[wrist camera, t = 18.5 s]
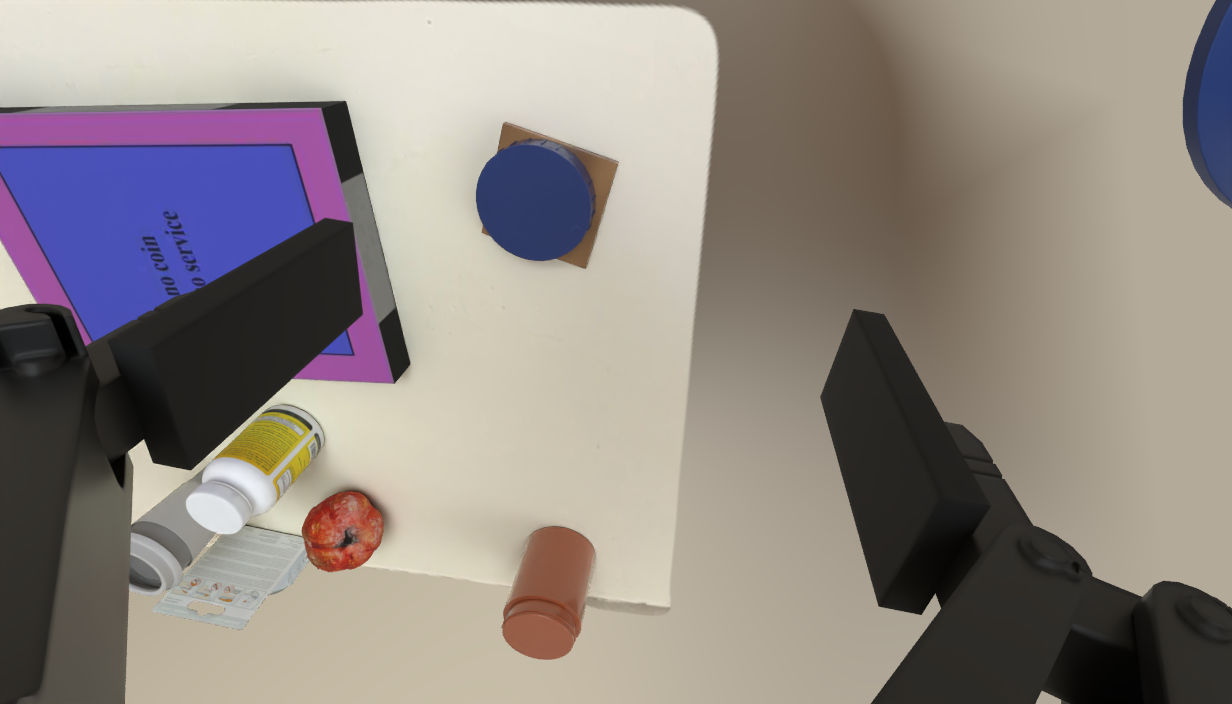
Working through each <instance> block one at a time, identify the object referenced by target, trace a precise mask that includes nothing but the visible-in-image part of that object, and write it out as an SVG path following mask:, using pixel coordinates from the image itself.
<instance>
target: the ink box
mask: <svg viewBox="0 0 1232 704" xmlns="http://www.w3.org/2000/svg"><path fill="white" fill-rule="evenodd" d="M309 561H310V560H309V559H308V557H307V552H306V549H305V544H304V539H303V537H299V536H294V535H289V534H284V533H279V532H274V531H269V530H265V529H260V528H255V527H250V526H245V525H244V526H243V527H242V529H241V530H240V531H238V532H237V533H234V534H223V535H222V536H221V537H220V538H219V539H218V540H217V541H216V542H215V543H214V544H213V545H212V546H211V547H210V549H209V550H208V551H207V552H206V553H205V554H204V555H203V556H202V557H201V558H200V559H199V560H198V561H197V562H196V563H195V564H194V565H193V566H192V567H191V568H190V570H188V572H187V573H186V574H185V575H183V578H182V581H181V582H180V583H179V584H178V585H177V586H175V587H174V588H172V589H170V590H169V591H168V592H167V593H166V595H165V596H164V597H163V598H162V599H161V600H160V601H159V602H158V604H157V605H156V606H155V607H154V608H153V609H152V612H156V613H160V614H164V615H170V616H175V617H180V618H184V619H189V620H194V621H199V622H204V623H208V624H214V625H218V626H223V627H226V628H231V629H237V630H242V629H243V628H244V627H245V625H246V624H247V622H248V621H249V620H250V618H251V617H252V616H253V614H254V613H255V612H256V610H257V609H258V608H259V606H260V605H261V604H262V603H263V601H264V600H265V598H266V597H267V596H268V595H271V594H275V593H279V592H280V591H282V590H284V589H285V588H286V587H288V586H290V585H291V584H293V582H294V581H295V579H296V578H297V577H298V575H299V574H300V572H301V571H302V570H303V568H304V567H305V566H306V565H307V563H308V562H309ZM193 601H197V602H201V603H207V604H211V605H215V606H220V607H224V609H225V611H224V612H223V613H222V614H220V615H215V614H210V613H209V614H207V615H204V616H199V615H198V614H197V611H196V610H192V609H188V604H190V603H191V602H193Z"/></svg>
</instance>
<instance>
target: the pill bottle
mask: <svg viewBox="0 0 1232 704" xmlns="http://www.w3.org/2000/svg"><path fill="white" fill-rule="evenodd" d="M323 444H324V436H323V432H322V430H321V428H320V426H319V424H318V423H317V422H316V421H315V420H314V419H313V418H312V417H311V416H310V415H309V414H308V413H306V412H304V411H302V410H300V409H298V408H295V407H292V406H286V405H278V406H273V407H271V408H269V409H267V410H266V411H264V412H263V413H262V414H261V415H260V416H259V417H258V418H257V419H255V420H254V421H253V422H252V423H251V424H250V425H249V426H248V427H247V428H246V429H245V430H244V431H243V432H242V433H241V434H240V435H239V436H237V437H236V438H235V439H234V440H233V441H232V442H231V443H230V444H229V445H228V446H227V447H226V448H225V449H224V450H223V451H222V452H220V453H219V454H218V455H217V456H216V457H215V458H214V459H213V460H212V461H211V462H210V463H209V464H208V465H207V467H206V468H205V470H204V472H203V475H202V484H201V485H199V486H198V487H197V488H196V489H195V490H194V491H193V492H192V493H191V494H190V495H189V496H188V498H187V499H186V508H187V511H188V512H189V514H190V515H191V517H192V518H193V519H194V520H195V521H196V522H197V523H199V524H200V525H201V526H203V527H204V528H206V529H208V530H210V531H213V532H215V533H219V534H234V533H237V532H238V531H240V530H241V529H242V527H243V526H244V525H245V524H246V523H247V522H248V521H249V519H250V518H251V517H252V516H257V515H261V514H263V513H265V512H267V511H268V510H270V509H271V508H272V507H273V506H274V505H275V503H276V502H277V501H278V500H279V499H280V497H281V496H282V495H283V494H284V493H285V492H286V490H287V489H288V488H289V487H290V486H291V485H292V483H293V482H294V481H295V480H296V479H297V478H298V476H299V475H300V474H301V473H302V472H303V471H304V469H305V468H306V467H307V466H308V465H309V464H310V463H311V461H312V460H313V459H314V458H315V457H316V455H317V454H318V453H319V452H320V450H321V449H322V447H323Z"/></svg>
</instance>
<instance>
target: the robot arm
mask: <svg viewBox="0 0 1232 704" xmlns="http://www.w3.org/2000/svg"><path fill="white" fill-rule="evenodd" d="M362 315H363V308H362V299H361V290H360V281H359V272H358V263H357V253H356V244H355V235H354V226H353V222H348V221H342V220H336V219H330V218H324V219H322V220H320V221H318V222H317V223H315V224H313V225H311V226H310V227H308V228H306V229H304V230H302V231H301V232H299V233H297V234H295V235H294V236H292V237H290V238H288V239H286V240H285V241H283V242H281V243H279V244H278V245H276V246H274V247H272V248H271V249H269V250H267V251H265V252H263V253H262V254H260V255H258V256H256V257H255V258H253V259H251V260H249V261H247V262H246V263H244V264H242V265H240V266H239V267H237V268H235V269H233V270H232V271H230V272H228V273H226V274H224V275H223V276H221V277H219V278H217V279H216V280H214V281H212V282H210V283H208V284H207V285H205V286H203V287H201V288H200V289H198V290H195V291H192V292H188V293H185V294H182V295H179V296H176V297H173V298H171V299H170V300H168V301H166V302H164V303H162V304H161V305H159V306H157V307H155V308H154V311H151V310H150V311H148V312H146V313H144V314H142V315H141V316H139V317H137V320H132V321H130V322H128V323H126V324H124V325H123V326H121V327H119V328H117V329H115V330H114V331H112V332H110V333H108V334H106V335H104V336H103V337H101V338H99V339H97V340H95V341H94V342H92V343H90V344H88V345H86V346H85V344H84V341H83V339H82V336H81V334H80V331H79V329H78V326H77V324H76V321H75V319H74V316H73V314H72V311H71V309H68V308H66V307H64V306H62V305H55V304H46V303H45V304H26V305H20V306H14V307H9V308H4V309H1V310H0V704H125V682H126V680H125V679H126V654H127V652H126V651H127V627H128V599H129V572H130V545H131V518H132V490H133V464H132V462H131V459H130V457H129V454H128V451H129V450H131V449H132V448H133V447H134V446H136V445H137V444H138V443H140V442H141V441H142V440H143V439H144V440H145V442H146V445H147V448H148V450H149V453H150V456H151V458H152V461H153V463H156V464H161V465H166V466H171V467H176V468H181V469H186V470H192V469H193V468H194V467H195V466H196V465H197V464H199V463H200V462H201V461H202V460H203V459H204V458H205V457H206V456H207V455H208V454H210V453H211V452H212V451H213V450H214V449H215V448H216V447H217V446H218V445H220V444H221V443H222V442H223V441H224V440H225V439H226V438H227V437H228V436H229V435H231V434H232V433H233V432H234V431H235V430H236V429H237V428H238V427H239V426H241V425H242V424H243V423H244V422H245V421H246V420H247V419H248V418H249V417H250V416H252V415H253V414H254V413H255V412H256V411H257V410H258V409H259V408H260V407H262V406H263V405H264V404H265V403H266V402H267V401H268V400H269V399H270V398H271V397H273V396H274V395H275V394H276V393H277V392H278V391H279V390H280V389H281V388H282V387H284V386H285V385H286V384H287V383H288V382H289V381H290V380H291V379H292V378H294V377H295V376H296V375H297V374H298V373H299V372H300V371H301V370H302V369H303V368H305V367H306V366H307V365H308V364H309V363H310V362H311V361H312V360H313V359H315V358H316V357H317V356H318V355H319V354H320V353H321V352H322V351H323V350H324V349H326V348H327V347H328V346H329V345H330V344H331V343H332V342H333V341H334V340H336V339H337V338H338V337H339V336H340V335H341V334H342V333H343V332H344V331H345V330H347V329H348V328H349V327H350V326H351V325H352V324H353V323H354V322H355V321H357V320H358V319H359V318H360V317H361V316H362ZM820 398H821V401H822V405H823V409H824V412H825V416H826V419H827V423H828V427H829V430H830V434H831V437H832V441H833V445H834V448H835V451H836V455H837V459H838V462H839V466H840V470H841V473H842V477H843V480H844V484H845V488H846V491H847V495H848V498H849V502H850V505H851V509H852V513H853V516H854V520H855V523H856V527H857V531H858V534H859V538H860V541H861V545H862V548H863V552H864V556H865V559H866V563H867V567H868V570H869V574H870V577H871V581H872V584H873V588H874V592H875V595H876V599H877V602H878V606H879V607H884V608H889V609H894V610H899V611H904V612H909V613H915V614H919V615H922V613H923V612H924V610H925V609H926V607H927V605H928V604H929V602H930V601H931V599H932V598H933V596H934V594H935V593H936V596H937V599H938V601H939V604H940V606H941V610H940V611H939V612H938V614H937V615H936V617H935V618H934V619H933V621H932V622H931V623H930V625H929V626H928V627H927V629H926V630H925V632H924V633H923V634H922V636H921V637H920V638H919V639H918V641H917V642H916V644H915V645H914V646H913V648H912V649H911V650H910V652H909V653H908V655H907V656H906V657H905V658H904V660H903V661H902V662H901V664H900V665H899V666H898V668H897V669H896V671H895V672H894V673H893V674H892V676H891V677H890V679H889V680H888V681H887V683H886V684H885V685H884V687H883V688H882V689H881V691H880V692H879V693H878V695H877V696H876V697H875V699H874V700H873V701H872V703H871V704H1035V703H1036V701H1037V699H1038V697H1039V695H1040V692H1041V691H1044V692H1046V693H1048V694H1050V695H1053V696H1055V697H1057V698H1059V699H1061V704H1232V608H1231V607H1228V606H1227V605H1226V604H1225V603H1223V602H1222V601H1220V600H1218V599H1217V598H1215V597H1212V596H1210V595H1209V594H1207V593H1205V592H1203V591H1201V590H1199V589H1197V588H1194V587H1191V586H1188V585H1185V584H1182V583H1180V582H1170V581H1162V582H1160V583H1157V584H1155V585H1153V587H1152V588H1151V589H1150V590H1149V591H1148V592H1147V593H1146V594H1145V595H1144V596H1143V597H1141V596H1138V595H1136V594H1134V593H1131V592H1129V591H1126V590H1124V589H1121V588H1119V587H1116V586H1114V585H1111V584H1109V583H1106V582H1104V581H1102V580H1099V579H1097V578H1095V577H1093V576H1092V572H1091V570H1090V568H1089V566H1088V565H1087V563H1086V561H1085V559H1084V558H1083V557H1082V556H1081V555H1080V554H1079V553H1078V552H1077V551H1076V550H1075V549H1074V548H1073V547H1072V546H1070V545H1069V544H1068V543H1066V542H1065V541H1063V540H1062V539H1060V538H1059V537H1057V536H1056V535H1054V534H1052V533H1050V532H1048V531H1046V530H1044V529H1042V528H1039V527H1036V526H1033V524H1032V523H1031V521H1030V520H1029V518H1028V516H1027V515H1026V513H1025V511H1024V510H1023V508H1022V507H1021V505H1020V503H1019V502H1018V500H1017V499H1016V497H1015V495H1014V494H1013V492H1012V490H1011V489H1010V487H1009V485H1008V484H1007V482H1006V481H1005V479H1002V474H1001V473H1000V471H999V469H998V468H997V466H996V464H993V460H992V458H991V456H990V455H989V453H988V451H987V450H986V448H985V447H984V445H983V443H982V442H981V441H980V440H979V439H977V438H976V437H975V436H974V435H973V434H972V433H971V432H969V431H968V430H967V429H966V428H965V427H964V426H963V425H959V424H953V423H948V422H944V421H943V419H942V417H941V416H940V414H939V412H938V410H937V408H936V407H935V405H934V403H933V401H932V399H931V398H930V396H929V394H928V392H927V390H926V389H925V387H924V385H923V383H922V381H921V380H920V378H919V376H918V374H917V373H916V371H915V369H914V367H913V365H912V364H911V362H910V360H909V358H908V356H907V354H906V353H905V351H904V349H903V347H902V346H901V344H900V342H899V340H898V338H897V337H896V335H895V333H894V331H893V329H892V327H891V326H890V324H889V322H888V320H887V318H886V317H885V315H884V314H879V313H874V312H868V311H862V310H856V309H854V310H853V312H852V315H851V318H850V320H849V323H848V325H847V328H846V331H845V333H844V336H843V338H842V342H841V344H840V347H839V349H838V352H837V354H836V357H835V360H834V362H833V365H832V368H831V370H830V373H829V376H828V378H827V381H826V383H825V386H824V389H823V392H822V394H821V397H820Z"/></svg>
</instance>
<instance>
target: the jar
mask: <svg viewBox="0 0 1232 704" xmlns="http://www.w3.org/2000/svg"><path fill="white" fill-rule="evenodd" d="M595 557H596V556H595V550H594V548H593V546H592V544H591V543H590V542H589V541H588V540H587V539H586V538H585V537H584V536H582V535H581V534H579V533H578V532H575V531H573V530H571V529H567V528H563V527H546V528H542V529H539V530H537V531H535V532H534V533H532V534H531V535H530V537H529V538H528V540H527V543H526V546H525V549H524V552H523V555H522V558H521V561H520V564H519V566H518V569H517V572H516V575H515V578H514V581H513V584H512V587H511V590H510V593H509V596H508V599H507V602H506V605H505V608H504V612H503V616H504V622H503V625H502V628H503V636H504V638H505V640H506V642H507V643H508V644H509V645H510V646H511V647H512V648H513V649H515V650H516V651H518V652H520V653H521V654H524V655H526V656H529V657H532V658H537V659H544V660H549V659H557V658H560V657H563V656H565V655H566V654H568V653H569V652H570V651H571V649H572V647H573V645H574V642H575V641H576V638H577V637H578V635H579V633H580V631H581V627H582V622H583V617H584V612H585V607H586V602H587V597H588V593H589V588H590V583H591V578H592V573H593V568H594V563H595Z"/></svg>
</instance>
